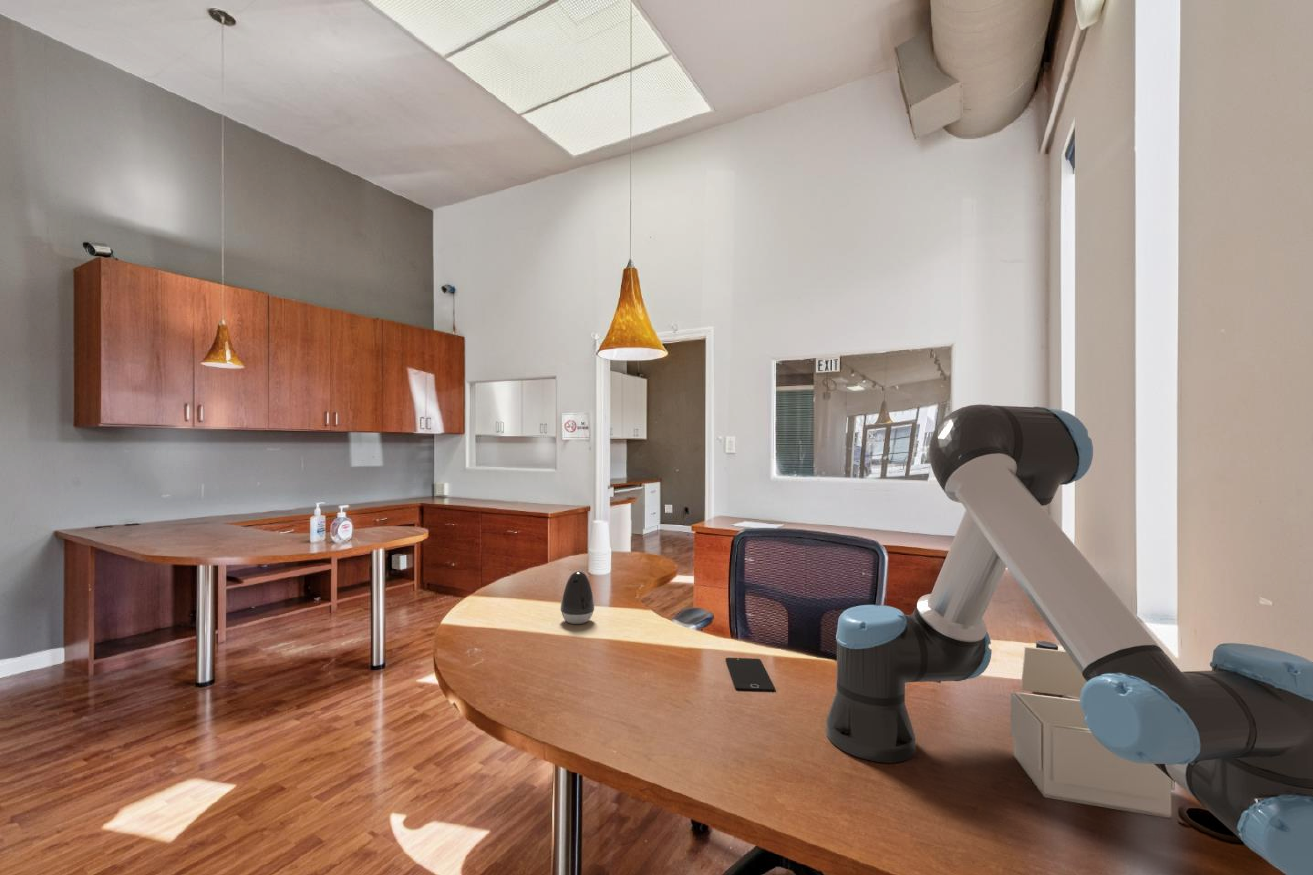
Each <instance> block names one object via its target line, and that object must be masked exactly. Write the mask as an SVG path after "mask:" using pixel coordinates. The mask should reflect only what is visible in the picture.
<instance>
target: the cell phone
mask: <svg viewBox="0 0 1313 875" xmlns="http://www.w3.org/2000/svg"><path fill="white" fill-rule="evenodd" d="M724 660H725V664H726V666H727V670H728V672H729V675H730V679H731V681H732V684H733V687H734V690H735V691H738V692H742V691H743V692H766V693H767V692H776V687H775V685H774V683H773V681H772V679H771V677H770V676H769V674H768V671H767V669H766V668H765V666H764V664H763V662H762V659H760V658H748V657H747V658H746V657H744V658H743V657H726V658H725V659H724Z"/></svg>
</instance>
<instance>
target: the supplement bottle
mask: <svg viewBox="0 0 1313 875" xmlns="http://www.w3.org/2000/svg"><path fill="white" fill-rule="evenodd" d="M1035 648H1043V649H1052V650H1059V645H1058V644H1056V643H1054V642H1051V641H1046V640H1037V641H1036V642H1035ZM1031 692H1032V693H1033V694H1035V695H1043V696H1051V697H1059V698H1064V695H1057V694H1049V693H1041V692H1033V691H1031Z"/></svg>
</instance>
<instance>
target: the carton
mask: <svg viewBox="0 0 1313 875" xmlns="http://www.w3.org/2000/svg"><path fill="white" fill-rule="evenodd" d="M1084 719H1085V715H1084V711H1083V709H1082V708H1081V707H1080V699H1075V698H1066V697H1062V698H1059V697H1051V696H1043V695H1036V694H1035V693H1033V694H1032V693H1027V692H1026V693H1025V692H1017V691H1014V692H1010V735H1011V736H1012V737H1013V757H1014V758H1015V759H1016V760H1017V762H1018V764H1020V766H1021V768H1022V769H1023V770H1024V771H1025V773H1026V774H1027V775H1028V777H1029V779H1030V780H1031V779H1032V780H1031V781H1032V783H1034V786H1035V787H1036V786H1037V787H1036V788H1037V789H1038V791H1039V792H1040V794H1041V795H1042V797H1044V798H1047V799H1054V800H1060V801H1065V802H1070V803H1076V804H1083V805H1088V806H1095V807H1101V808H1105V809H1111V810H1112V809H1114V810H1118V811H1124V812H1130V813H1136V814H1143V815H1148V816H1154V817H1159V818H1165V819H1172V791H1176V782H1174V781H1173V780H1172V779H1171V778H1169V777H1168V776H1167V775H1166V774H1165V773H1164V772H1162V771H1161V770H1160V769H1159V768H1158V767H1157V766H1156V765H1154V764H1146V763H1136V762H1131V761H1128V760H1125V759H1123V758H1121V757H1118V756H1117V755H1115V754H1113V753H1112V752H1110V751H1109V750H1108V749H1106V748H1105V747H1104V746H1103V745H1102V744H1101V743H1100V742H1099V741H1098V740H1097V739H1096V738H1095V737H1094V735H1093V734H1092V733H1091V731H1090V730H1089V728H1088V726H1087V725H1086V722H1085V720H1084Z"/></svg>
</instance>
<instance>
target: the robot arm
mask: <svg viewBox="0 0 1313 875" xmlns="http://www.w3.org/2000/svg"><path fill="white" fill-rule="evenodd" d="M928 456H929V464H930V467H931V470H932V473H933V474H934V475H933V476H934V477H935V480H936V482H937V483H938V485H939V486H940V487H941V489H942V490H943V492H944V493H945V495H946V497H947V498H948V499H949V500H951V501H952V502H954V503H959V504H962V506H963V507H964V509H965V510H964V514H963V516H962V518H961V521H960V523H959V525H958V528H957V531H956V534H955V535H954V538H953V540H952V542H951V545H950V546H949V549H948V552H947V555H946V557H945V560H944V562H943V564H942V567H941V569H940V572H939V574H938V575H937V579H936V581H935V584H934V586H933V589H932V591H931V593H928V594H924V595H922V596H921V597H919V598H918V600H917V602H916V605H915V607H914V610H913V612H912V613H911V614H905V613H904V612H903V611H902V610H901V609H899V608H897V607H893V606H890V605H884V604H883V605H881V604H880V605H876V604H863V605H857V606H851V607H849V608H847V609H844V610H843V612H842V613H841V614H840V615H839V617H838V620H837V629H836V634H835V640H836V690H835V694H834V697H833V699H832V702H831V704H830V708H829V711H828V714H827V716H826V720H825V726H826V727H825V734H826V737H827V739H828V740H829V741H830V742H831V743H832V744H833V745H834V746H835V747H836V748H838V749H840V750H841V751H843V752H845V753H846V754H849V755H851V756H854V757H856V758H860V759H862V760H867V761H871V762H877V763H887V764H888V763H890V764H891V763H900V762H901V763H902V762H905V761H908V760H910V759H911V758H912V757H914V755H915V754H916V734H915V732H914V728H913V724H912V722H911V719H910V716H909V713H908V709H907V707H906V700H905V698H906V695H905V694H906V683H924V682H927V683H928V682H962V681H966V680H971V679H975V678H977V677H979V676H980V675H981V676H982V674H983V673H984V672H985V671H986V670H987V668H988V667H989V665H990V662H991V659H992V651H993V650H992V649H991V648H990V645H991V644H992V642H991V638H990V634H989V632H988V631H987V630H988V628H987V624H986V622H985V620H984V619H983V618H984V616H985V614H986V611H987V608H988V606H990V605H989V604H990V603H991V600H992V599H993V596H994V594H995V593H996V590H997V588H998V585H999V584H1000V582H1001V579H1002V578H1003V575H1004V574H1005V572H1006V569H1007V570H1008V571H1009V573H1010V575H1011V576H1012V577H1013V579H1014V580H1015V582H1016V583H1017V584H1018V586H1019V587H1020V588H1021V590H1022V591H1023V593H1024V594H1025V595H1026V597H1027V599H1028V600H1029V601H1030V603H1031V604H1032V605H1033V607H1034V608H1035V610H1036V612H1037V613H1038V614H1039V616H1040V617H1041V618H1042V620H1043V621H1044V624H1046V625H1047V626H1048V628H1049V630H1050V631H1051V633H1052V634H1053V636H1054V637H1055V638H1056V640H1057V641H1058V643H1059V644H1060V646H1061V647H1062V648H1063V651H1066V652H1067V654H1068V655H1069V657H1070V658H1071V660H1072V661H1073V662H1074V664H1075V665H1076V667H1077V668H1078V670H1079V671H1080V672H1081V674H1082V676H1083V677H1084V678H1085V680H1086V681H1087V683H1086V684H1085V685H1084V687H1083V688H1082V691H1081V695H1080V697H1079V700H1080V707H1081V708H1082V709H1083V711H1084V715H1085V719H1084V720H1085V722H1086V725H1087V726H1088V728H1089V730H1090V731H1091V733H1092V734H1093V735H1094V737H1095V738H1096V739H1097V740H1098V741H1099V742H1100V743H1101V744H1102V745H1103V746H1104V747H1105V748H1106V749H1108V750H1109V751H1110V752H1112V753H1113V754H1115V755H1117V756H1118V757H1121V758H1123V759H1125V760H1128V761H1131V762H1136V763H1146V764H1154V765H1156V766H1157V767H1158V768H1159V769H1160V770H1161V771H1162V772H1164V773H1165V774H1166V775H1167V776H1168V777H1169V778H1171V779H1172V780H1173V781H1174V782H1175V784H1177V785H1178V786H1179V787H1180V788H1182V789H1183V790H1184V791H1185V792H1186V793H1187V794H1189V795H1190V796H1191V797H1192V798H1193V799H1195V800H1196V801H1197V802H1198V803H1199V804H1200V805H1202V806H1203V808H1204V809H1206V810H1207V812H1210V814H1212V815H1213V816H1214V817H1215V818H1216V819H1217V820H1218V821H1219V822H1221V824H1223V825H1224V826H1225V827H1226V828H1227V829H1228V830H1229V831H1231V832H1232V833H1233V834H1234V835H1235V836H1236V837H1237V838H1238V839H1240V840H1241V842H1243V844H1244V845H1245V846H1246V847H1247V848H1249V849H1250V850H1251V851H1252V852H1254V853H1255V854H1257V855H1258V856H1260V857H1261V858H1262V859H1264V860H1265V861H1266V862H1268V863H1269V864H1270V865H1272V867H1274V868H1275V869H1278V870H1279V871H1281V872H1282V874H1285V875H1313V661H1312V660H1309V659H1307V658H1305V657H1302V656H1300V655H1297V654H1293V653H1290V652H1286V651H1284V650H1280V649H1279V650H1278V649H1275V648H1270V647H1265V646H1260V645H1255V644H1247V643H1236V642H1234V643H1233V642H1227V643H1226V642H1225V643H1220V644H1218V645H1217V646H1216V647H1215V648H1214V649H1213V652H1212V660H1211V662H1209V666H1210V667H1211V670H1210V669H1209V670H1193V671H1181V670H1180V669H1179V668H1178V666H1177V665H1176V664H1175V663H1174V661H1173V660H1172V659H1171V658H1170V656H1168V654H1166V653H1165V651H1164V650H1163V649H1162V647H1161V646H1160V645H1159V644H1158V643H1157V642H1156V640H1154V638H1153V637H1152V636H1151V634H1150V633H1149V632H1148V631H1147V630H1146V629H1145V628H1144V627H1143V625H1142V624H1141V623H1140V621H1139V620H1138V619H1137V618H1136V617H1135V615H1133V613H1132V612H1131V611H1130V609H1129V608H1128V607H1127V606H1126V605H1125V604H1124V602H1123V601H1122V600H1121V599H1120V598H1119V596H1118V595H1117V594H1116V593H1115V592H1114V590H1112V588H1111V587H1110V586H1109V584H1108V583H1107V582H1106V581H1105V580H1104V579H1103V577H1102V576H1101V575H1100V574H1099V573H1098V571H1097V570H1096V569H1095V568H1094V567H1093V565H1092V564H1091V563H1090V562H1089V561H1088V559H1087V558H1086V557H1085V555H1083V554H1082V552H1081V551H1080V550H1079V549H1078V548H1077V546H1076V545H1075V544H1074V543H1073V542H1072V540H1071V539H1070V538H1069V537H1068V536H1067V535H1066V533H1065V532H1064V531H1063V530H1062V528H1061V527H1060V526H1059V524H1058V523H1057V522H1056V521H1055V520H1054V519H1053V518H1052V516H1051V515H1050V514H1049V513H1048V512H1047V510H1046V509H1045V507H1048V506H1049V505H1051V503H1052V501H1053V499H1054V496H1055V495H1056V493H1057V491H1058V489H1059V487H1060V485H1061V486H1063V485H1069V484H1072V483H1074V482H1076V481H1079V480H1080V479H1082V478H1083V477H1084V476H1085V475H1086V474H1087V473H1088V471H1089V469H1090V467H1091V465H1092V463H1093V462H1092V461H1093V458H1094V447H1093V441H1092V438H1091V437H1090V436H1089V431H1088V428H1087V427H1086V425H1085V424H1084V423H1083V422H1082V421H1081V420H1080V419H1079V418H1077V417H1076V415H1073V414H1072V413H1069V412H1068V411H1065V410H1061V409H1055V408H1047V407H1046V406H1040V405H1039V406H1018V405H1016V406H1012V405H993V404H991V405H990V404H983V403H982V404H981V403H980V404H971V405H970V404H969V405H966V406H964V407H960V408H958V409H955V410H954V411H952V412H950V413H949V414H948V415H946V416H944V418H943V419H942V420H941V421H940V422H939V423H938V424H937V426H936V427H935V429H934V431H933V432H932V435H931V438H930V442H929V449H928Z"/></svg>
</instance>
